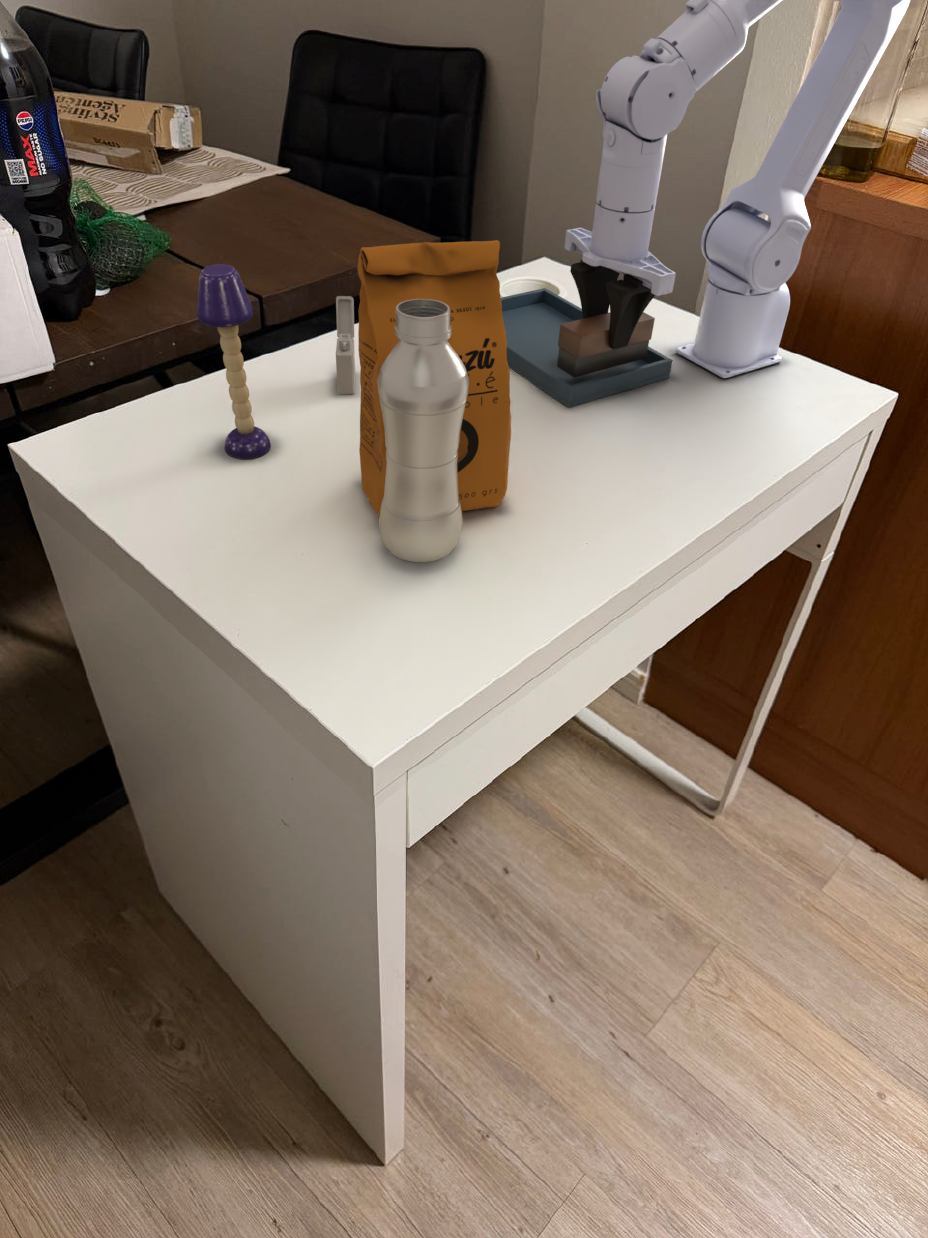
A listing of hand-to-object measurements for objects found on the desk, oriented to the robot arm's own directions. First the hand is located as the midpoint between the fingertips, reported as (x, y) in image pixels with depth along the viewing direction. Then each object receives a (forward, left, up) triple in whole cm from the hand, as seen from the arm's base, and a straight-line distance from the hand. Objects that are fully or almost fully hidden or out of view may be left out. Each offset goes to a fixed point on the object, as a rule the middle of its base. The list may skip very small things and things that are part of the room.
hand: (605, 338), depth 97 cm
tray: (0, -8, -5) cm, 9 cm away
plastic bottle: (+33, +17, -5) cm, 37 cm away
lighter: (+24, -13, -5) cm, 28 cm away
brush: (0, 0, -3) cm, 3 cm away
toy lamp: (+39, -5, -5) cm, 40 cm away
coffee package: (+28, +11, -5) cm, 30 cm away
